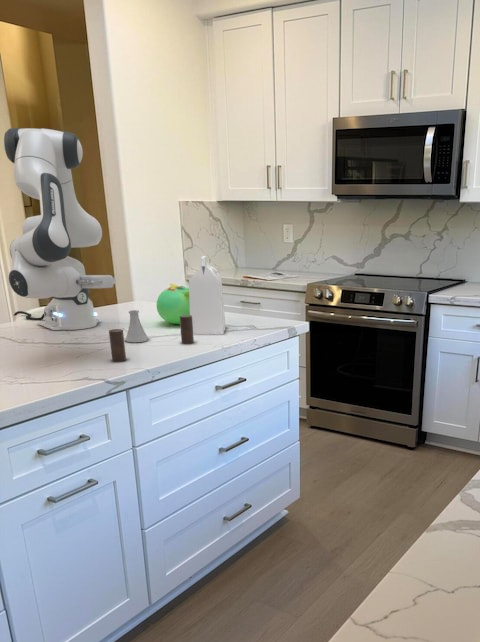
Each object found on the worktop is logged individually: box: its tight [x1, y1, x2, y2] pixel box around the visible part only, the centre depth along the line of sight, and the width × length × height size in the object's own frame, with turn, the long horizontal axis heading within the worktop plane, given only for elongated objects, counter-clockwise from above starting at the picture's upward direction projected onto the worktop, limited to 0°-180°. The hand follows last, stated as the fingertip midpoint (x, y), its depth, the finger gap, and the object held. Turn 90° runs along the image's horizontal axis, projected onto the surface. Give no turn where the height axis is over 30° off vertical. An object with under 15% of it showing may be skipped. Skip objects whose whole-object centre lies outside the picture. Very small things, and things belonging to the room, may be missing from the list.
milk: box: [188, 255, 226, 335], centre depth 216 cm, size 12×12×26 cm
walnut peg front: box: [108, 328, 127, 363], centre depth 180 cm, size 4×4×9 cm
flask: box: [125, 309, 149, 343], centre depth 203 cm, size 7×7×10 cm
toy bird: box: [156, 283, 190, 325], centre depth 230 cm, size 18×17×15 cm
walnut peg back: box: [179, 315, 195, 345], centre depth 202 cm, size 4×4×9 cm
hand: (103, 280), depth 189 cm, fingers open, 8 cm apart
